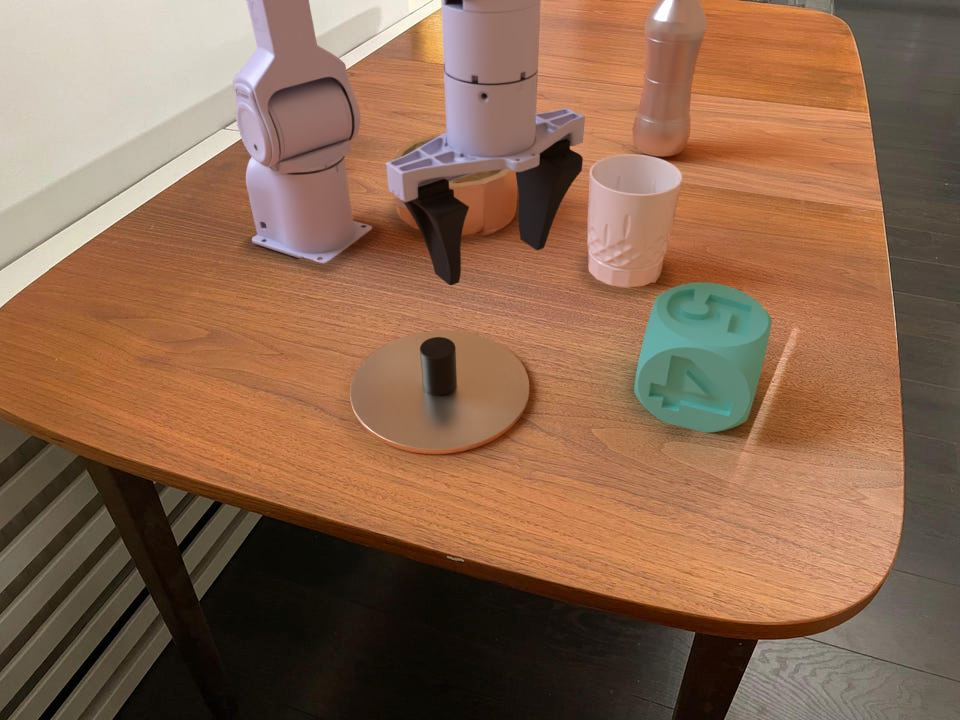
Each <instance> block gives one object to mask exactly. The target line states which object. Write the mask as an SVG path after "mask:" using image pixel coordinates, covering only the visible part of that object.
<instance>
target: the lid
mask: <svg viewBox="0 0 960 720" xmlns="http://www.w3.org/2000/svg"><path fill="white" fill-rule="evenodd" d="M529 398H530V381H529V376H528V373H527V371H526V368H525V367H524V365H523V363H522V362H521V360H520V359H519V358H518V356H517V355H515V354H514V353H513V352H512V351H511V350H510V349H508V348H506V347H505V346H504V345H502V344H501V343H499V342H497V341H495V340H493V339H490V338H488V337H485V336H482V335H480V334H479V335H478V334H476V333H471V332H466V331H458V330H430V331H423V332H418V333H412V334H409V335H406V336H402V337H399V338H396V339H395V340H391V341H390V342H388V343H385V344H384V345H382V346H381V347H379V348H377V349H376V350H374V351H373V352H372V353H371V354H369V355H368V356H367V357H366V358H365V359H364V360H363V361H362V362H361V363H360V365H359V366H358V368H357V369H356V370H355V373H354V375H353V377H352V379H351V383H350V387H349V399H350V400H349V401H350V406H351V408H352V409H351V410H352V412H353V413H352V414H353V415H354V417H355V419H356V421H357V422H358V423H359V425H360V426H361V428H363V429H364V430H365V431H366V432H367V433H368V434H369V435H370V436H372V437H373V438H375V439H376V440H377V441H379V442H381V443H383V444H386V445H387V446H389V447H392V448H395V449H398V450H401V451H404V452H405V451H406V452H409V453H416V454H423V455H447V454H455V453H462V452H466V451H469V450H473V449H477V448H479V447H480V448H481V447H482V446H484V445H487V444H489V443H491V442H493V441H495V440H497V439H498V438H499V437H501V436H503V435H505V434H506V433H507V432H508V431H510V430H511V429H512V428H513V427H514V426H515V425H516V423H518V421H519V420H520V419H521V418H522V416H523V414H524V412H525V410H526V409H527V406H528V402H529Z"/></svg>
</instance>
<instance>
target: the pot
mask: <svg viewBox="0 0 960 720" xmlns="http://www.w3.org/2000/svg"><path fill="white" fill-rule="evenodd" d="M442 134H443V133H438V134H437V133H436V134H431V135H427V136H423V137H420V138H417V139H413V140H411V141H409V142H407V143H405V144H404V145H403V146H401V147H400V148H398V149H397V150H396V152H395V154H394V156H393V158H392V160H395V159H398V158H400V157H403V156H405V155H407V154H409V153H411V152H412V151H414V150H416V149H418V148H419V147H421V146H423V145H424V144H426V143H428V142H430V141H431V140H433V139H435V138H437V137H438V136H440V135H442ZM449 188H450V189H453V190H454V197H455V198H457V199H458V200H460V201H461V202H463V203H464V204H466V205H467V206H468V207H469V209H468V212H467V215H466V218H465V221H464V225H463V230H462V236H468V235H474V234H476V235H479V236H482V237H483V236H484V237H486V236H488V235H491V234H494V233H496V232H499V231H501V230H502V229H504V228H506V226H508V225H510V223H511V222H512V221H513V220H514V218H515V217H516V212H517V204H518V186H517V179H516V172H514V171H511V170H509V169H500V170H493V171H485V172H478V173H475V174H472V175H469V176H466V177H463V178H460V179H457V180H454V181H451V182H449ZM394 198H395V208H396V211H397V213H398V216H399V218H400V220H401V221H403V222H404V223H406V224H407V225H409V226H410V227H412V228H413V229H415V230H419V228H418V226H417V224H416V222H415V220H414V218H413V217H412V215H411V213H410V212H409V210H408V209H407V207H406V206H405V204H404V203H403V201H402V200H401V199H400V198H398V197H396V196H395V195H394ZM419 231H420V230H419Z"/></svg>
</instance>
